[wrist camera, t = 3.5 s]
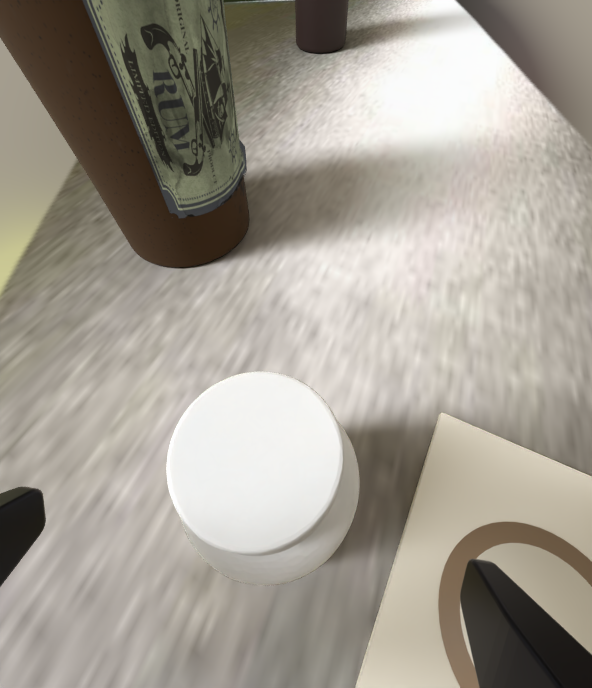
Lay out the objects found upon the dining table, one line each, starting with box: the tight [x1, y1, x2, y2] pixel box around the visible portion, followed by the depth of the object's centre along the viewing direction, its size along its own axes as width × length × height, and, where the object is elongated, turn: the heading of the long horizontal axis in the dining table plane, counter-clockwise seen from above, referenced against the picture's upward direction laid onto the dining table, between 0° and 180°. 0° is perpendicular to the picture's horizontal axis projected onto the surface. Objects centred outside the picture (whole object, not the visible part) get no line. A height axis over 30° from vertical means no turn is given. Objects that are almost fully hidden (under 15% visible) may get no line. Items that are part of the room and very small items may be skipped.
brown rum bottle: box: [0, 0, 249, 267], centre depth 16 cm, size 11×11×25 cm
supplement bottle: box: [167, 372, 359, 586], centre depth 12 cm, size 5×5×10 cm
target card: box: [355, 412, 592, 688], centre depth 13 cm, size 14×11×1 cm
